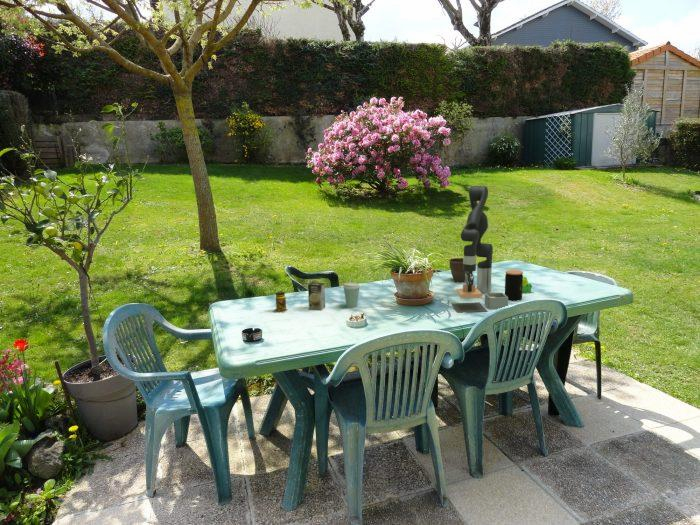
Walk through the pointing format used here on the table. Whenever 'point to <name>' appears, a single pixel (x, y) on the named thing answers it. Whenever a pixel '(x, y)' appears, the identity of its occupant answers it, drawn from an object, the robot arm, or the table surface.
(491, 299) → the storage box
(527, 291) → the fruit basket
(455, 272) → the plant pot
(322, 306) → the coffee box
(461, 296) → the lid
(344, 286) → the disposable coffee cup
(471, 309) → the rubber mat
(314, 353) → the table surface
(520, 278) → the coffee jar
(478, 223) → the robot arm
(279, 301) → the condiment
